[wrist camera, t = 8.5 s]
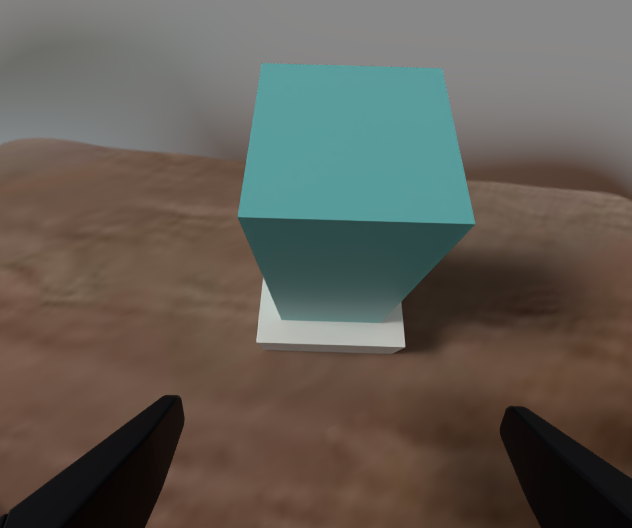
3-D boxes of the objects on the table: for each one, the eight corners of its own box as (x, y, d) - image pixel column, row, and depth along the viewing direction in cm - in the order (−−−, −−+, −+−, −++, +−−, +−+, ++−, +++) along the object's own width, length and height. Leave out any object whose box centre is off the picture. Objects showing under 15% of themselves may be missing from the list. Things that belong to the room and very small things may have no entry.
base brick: (391, 354, 19) (405, 347, 16) (264, 350, 19) (256, 342, 16) (383, 241, 22) (394, 219, 19) (275, 238, 22) (269, 215, 19)
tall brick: (380, 323, 17) (475, 224, 7) (281, 319, 17) (237, 216, 7) (375, 235, 19) (441, 68, 9) (288, 233, 19) (261, 63, 9)
